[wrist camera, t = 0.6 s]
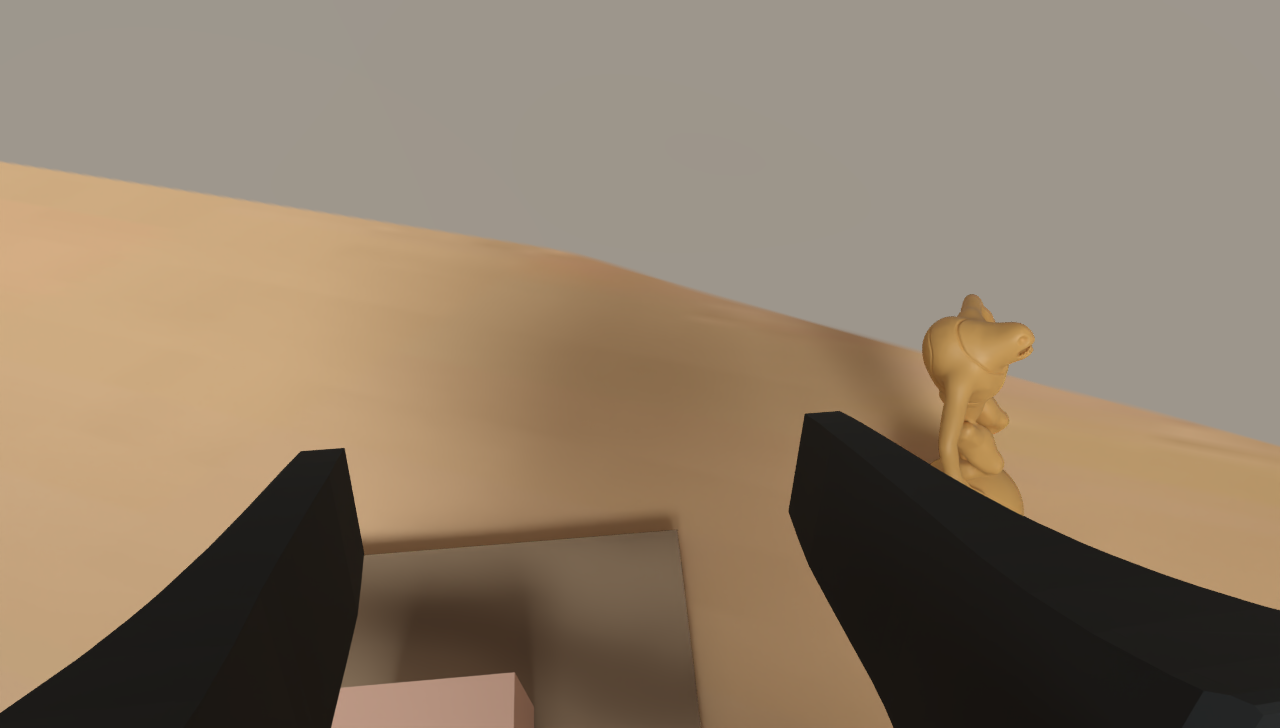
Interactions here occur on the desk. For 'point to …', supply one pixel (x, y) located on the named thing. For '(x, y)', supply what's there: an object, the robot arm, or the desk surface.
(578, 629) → the ticket board
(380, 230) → the desk surface
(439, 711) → the tall pink cuboid
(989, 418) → the figurine
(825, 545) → the robot arm
